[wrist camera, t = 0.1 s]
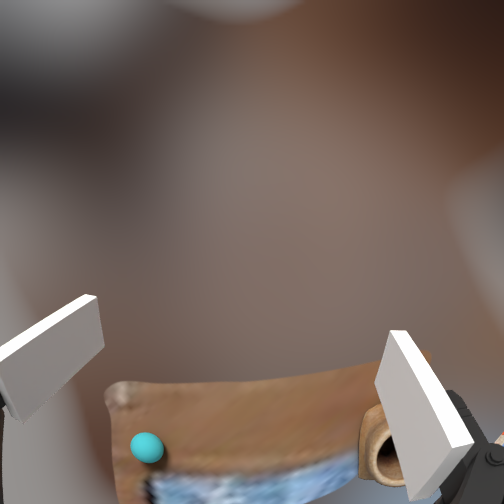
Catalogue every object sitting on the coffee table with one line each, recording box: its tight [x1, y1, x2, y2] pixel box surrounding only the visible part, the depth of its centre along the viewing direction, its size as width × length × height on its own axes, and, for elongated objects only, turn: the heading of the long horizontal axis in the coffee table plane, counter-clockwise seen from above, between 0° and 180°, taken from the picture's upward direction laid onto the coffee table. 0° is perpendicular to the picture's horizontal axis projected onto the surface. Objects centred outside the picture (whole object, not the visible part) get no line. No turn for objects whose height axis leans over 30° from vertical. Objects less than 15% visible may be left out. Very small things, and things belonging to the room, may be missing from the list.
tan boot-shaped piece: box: [358, 404, 406, 487], centre depth 31 cm, size 15×12×15 cm
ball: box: [131, 433, 164, 463], centre depth 38 cm, size 6×6×6 cm
